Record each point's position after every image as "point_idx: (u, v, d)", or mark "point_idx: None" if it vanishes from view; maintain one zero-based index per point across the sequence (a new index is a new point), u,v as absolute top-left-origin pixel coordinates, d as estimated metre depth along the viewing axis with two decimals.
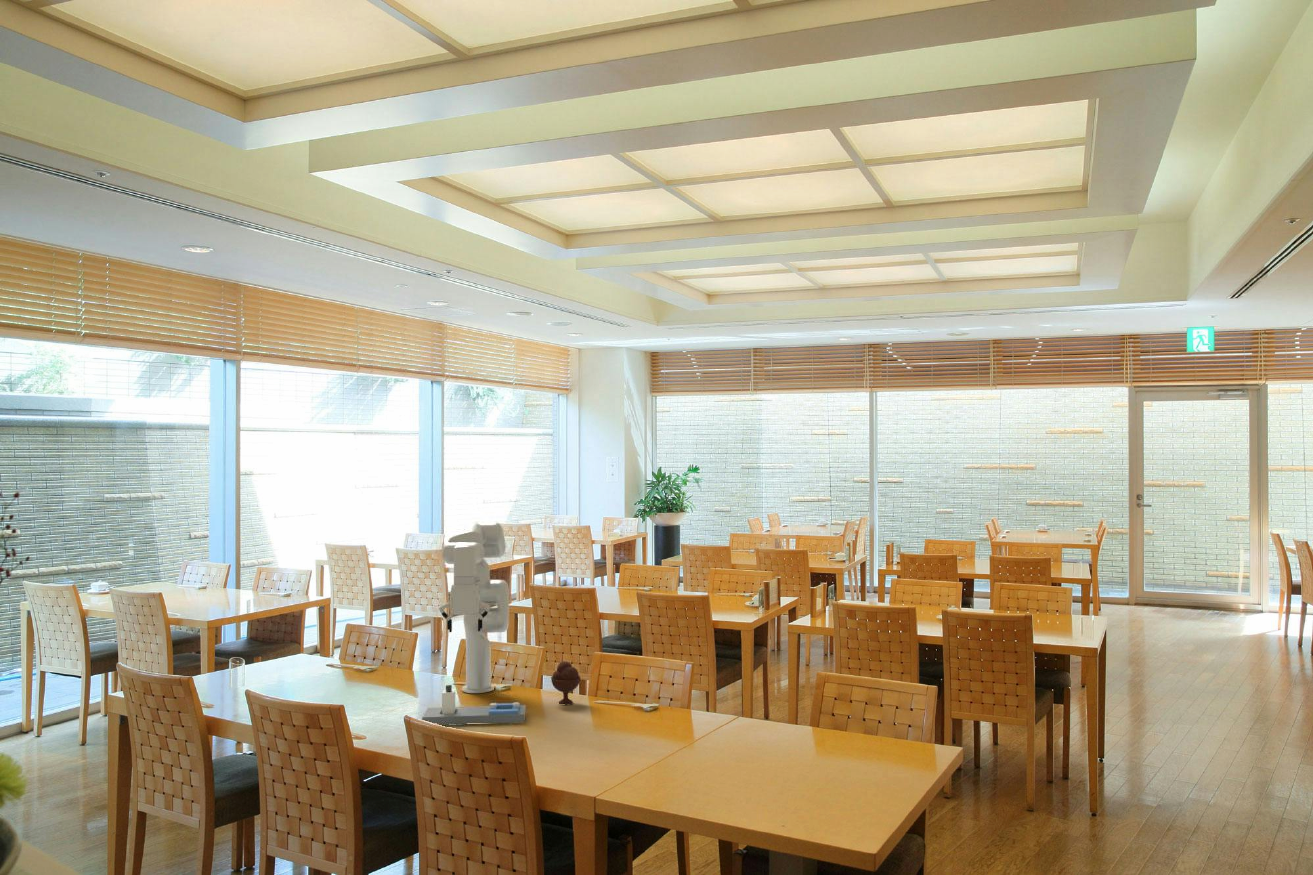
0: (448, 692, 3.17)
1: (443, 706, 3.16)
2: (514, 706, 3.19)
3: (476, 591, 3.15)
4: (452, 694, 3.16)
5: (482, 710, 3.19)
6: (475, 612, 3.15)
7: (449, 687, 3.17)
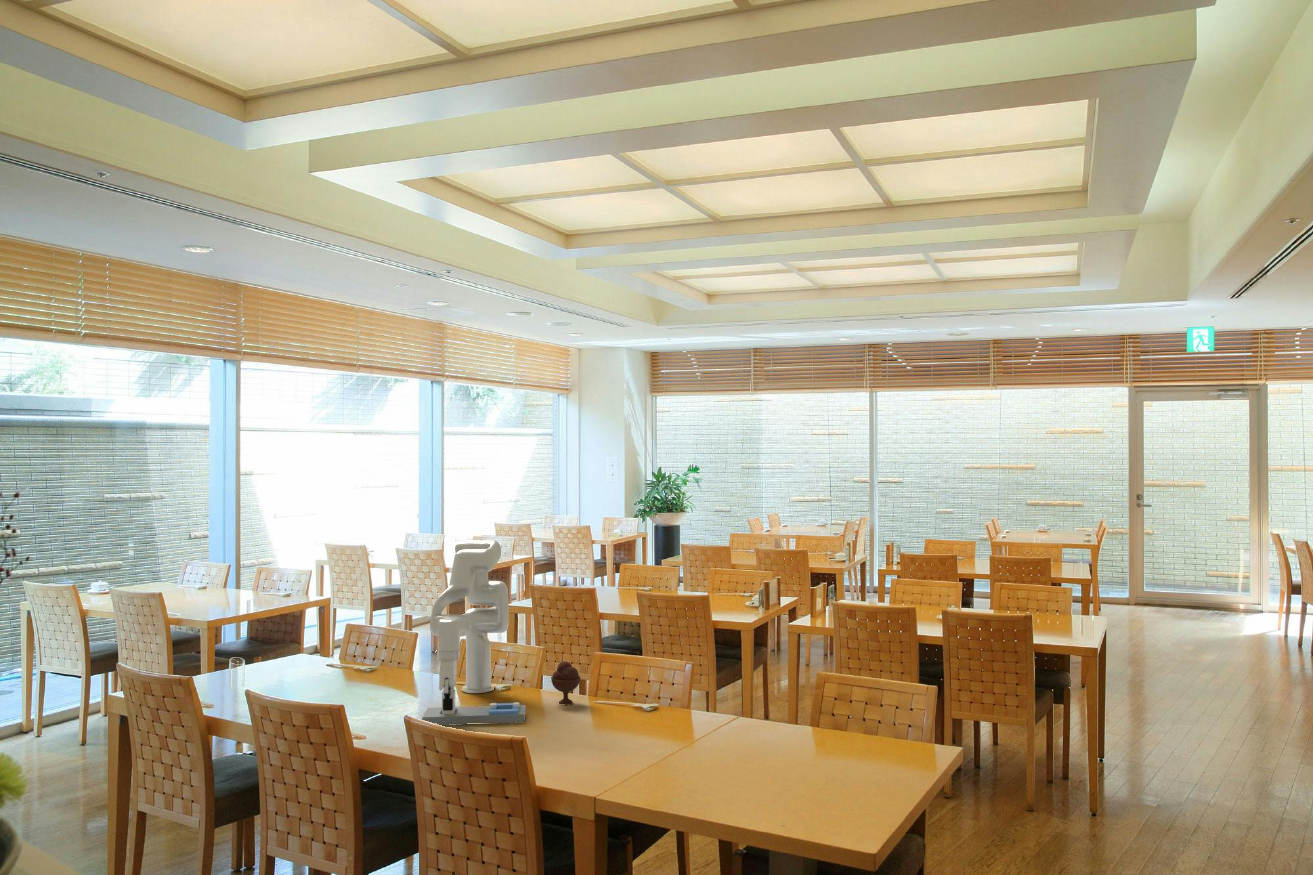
0: None
1: None
2: (514, 706, 3.19)
3: None
4: (452, 694, 3.16)
5: (482, 710, 3.19)
6: None
7: None
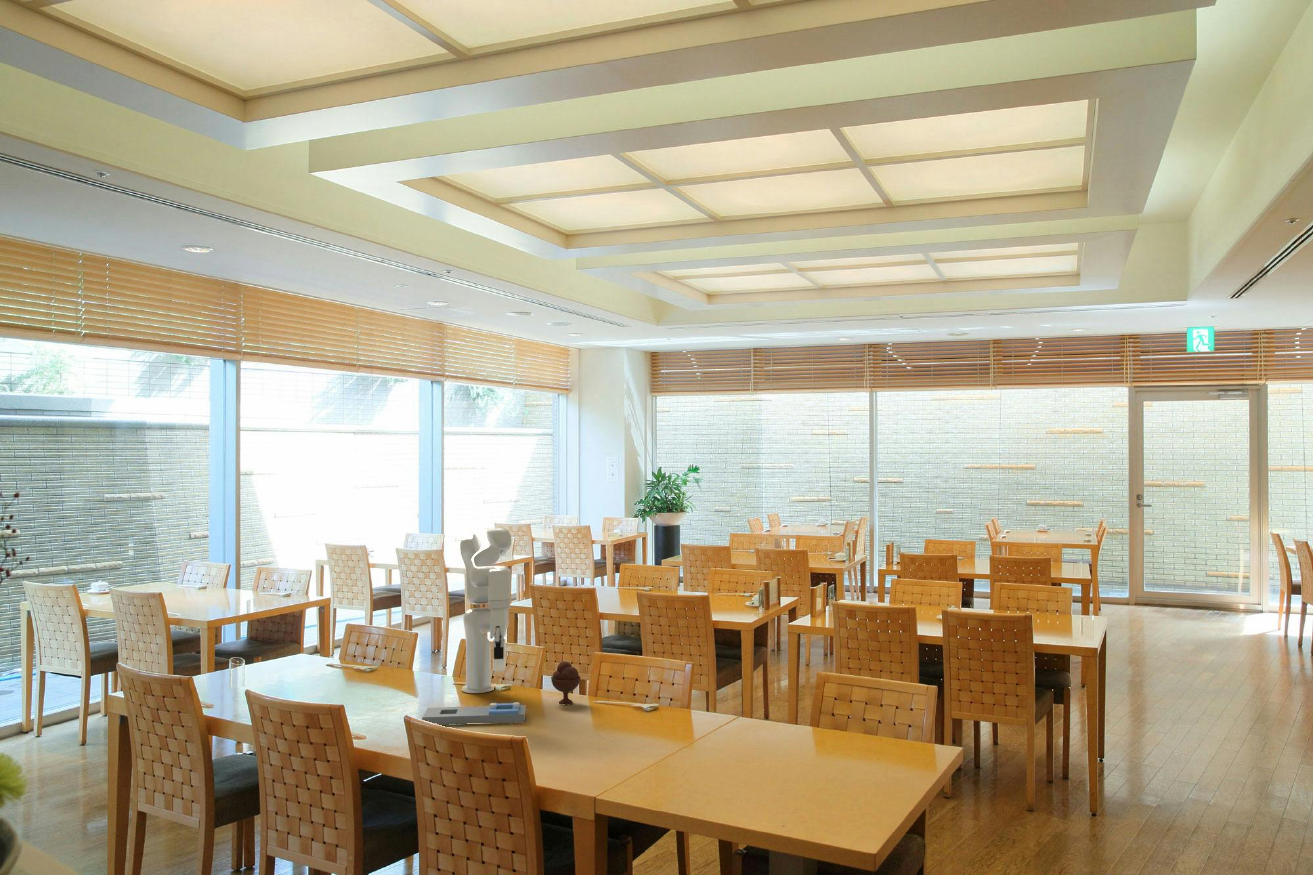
0: None
1: None
2: (514, 706, 3.19)
3: None
4: (503, 643, 3.18)
5: (482, 710, 3.19)
6: None
7: None
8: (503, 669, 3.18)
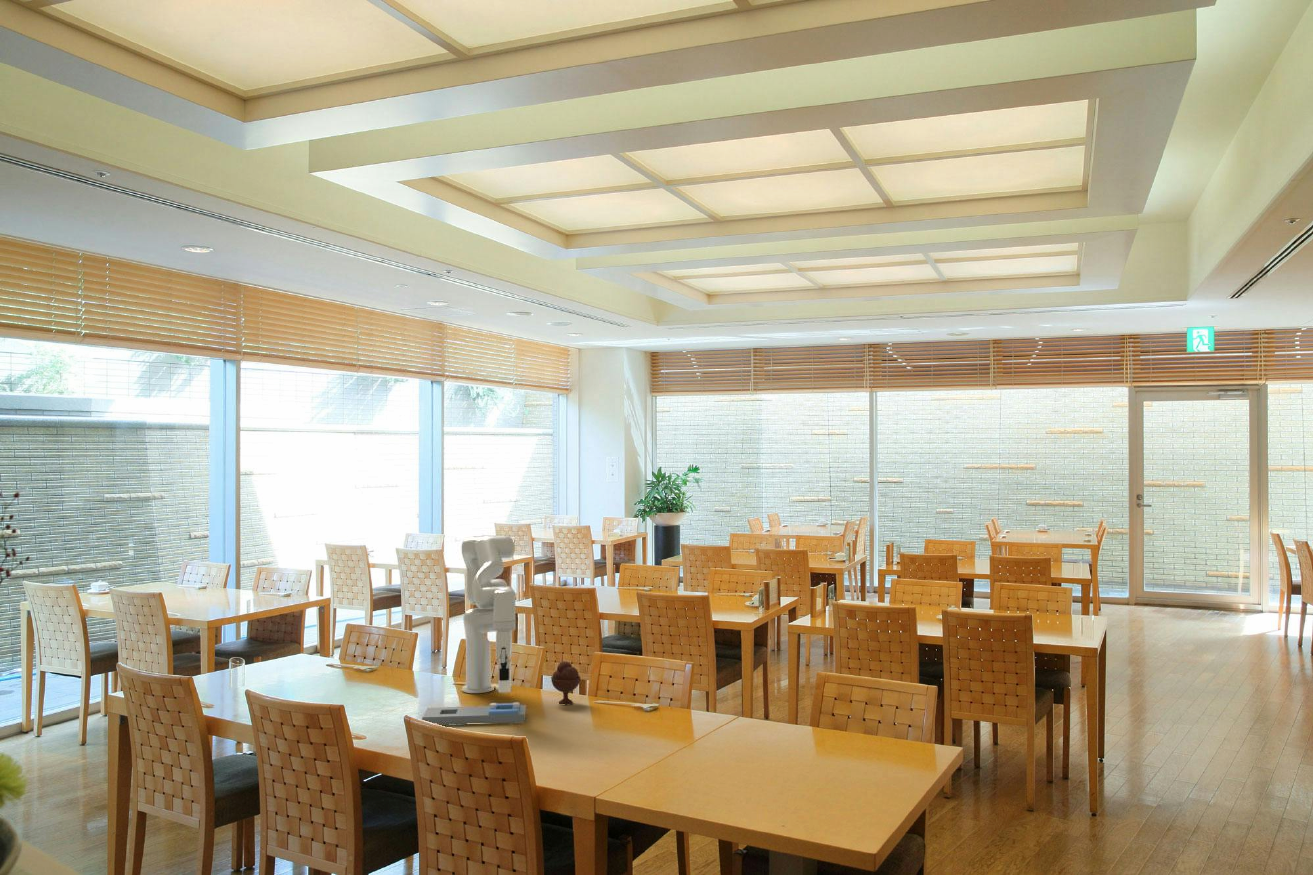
0: None
1: None
2: (514, 706, 3.19)
3: None
4: (508, 664, 3.18)
5: (482, 710, 3.19)
6: None
7: None
8: (509, 690, 3.18)
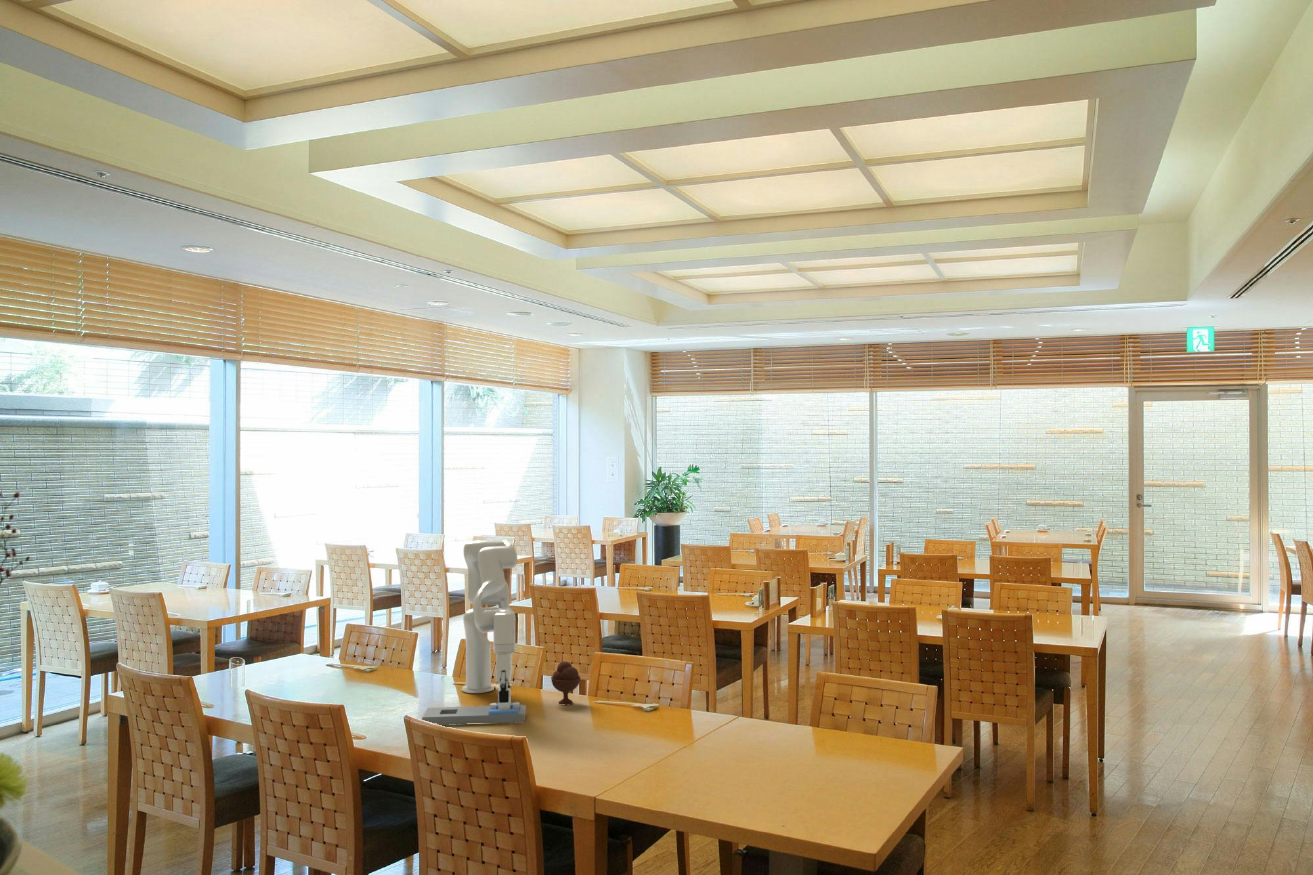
0: None
1: (499, 704, 3.18)
2: (514, 706, 3.19)
3: None
4: None
5: (482, 710, 3.19)
6: None
7: None
8: None
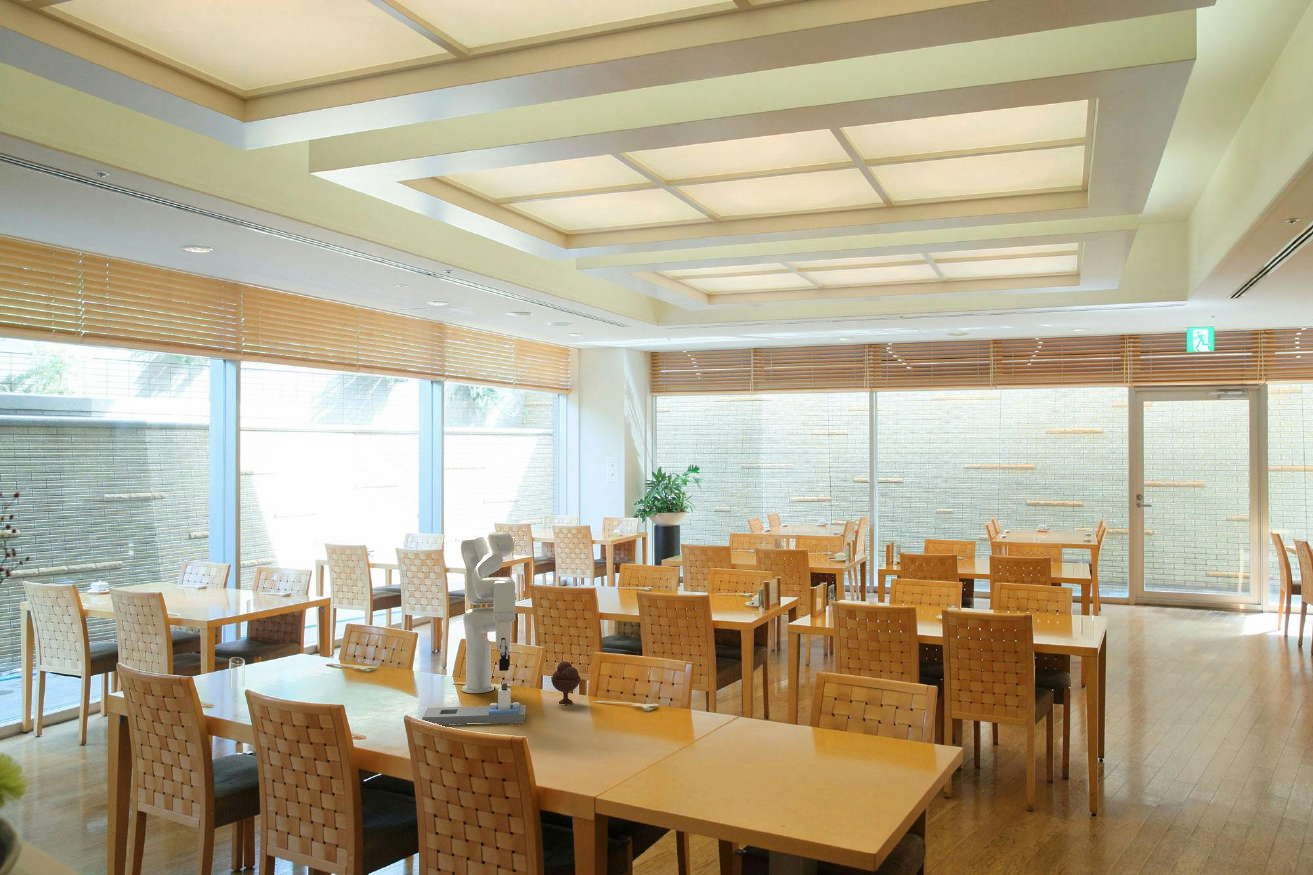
0: (504, 690, 3.19)
1: (499, 704, 3.18)
2: (514, 706, 3.19)
3: None
4: (508, 692, 3.18)
5: (482, 710, 3.19)
6: None
7: (505, 685, 3.19)
8: None
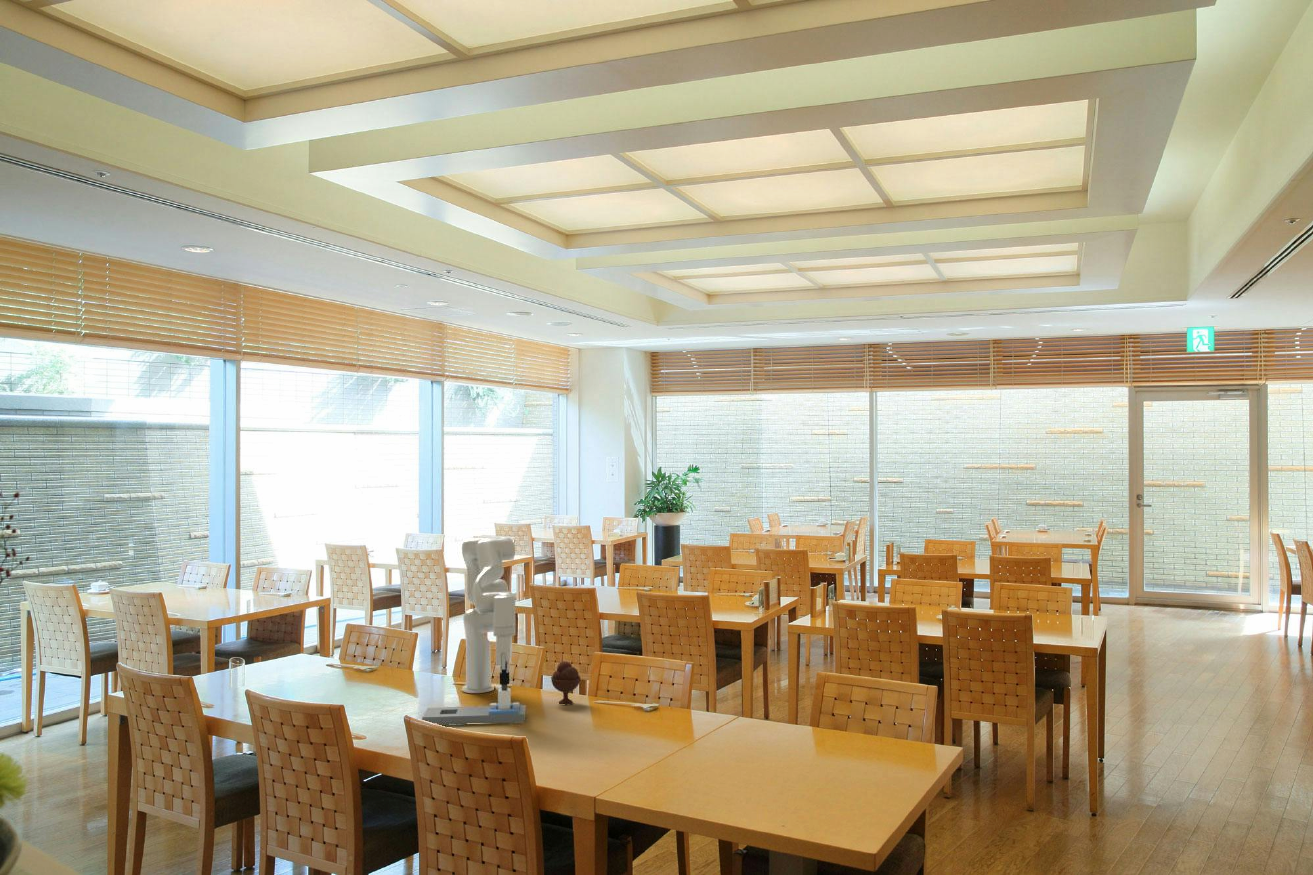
0: (504, 690, 3.19)
1: (499, 704, 3.18)
2: (514, 706, 3.19)
3: None
4: (508, 692, 3.18)
5: (482, 710, 3.19)
6: None
7: (505, 685, 3.19)
8: None
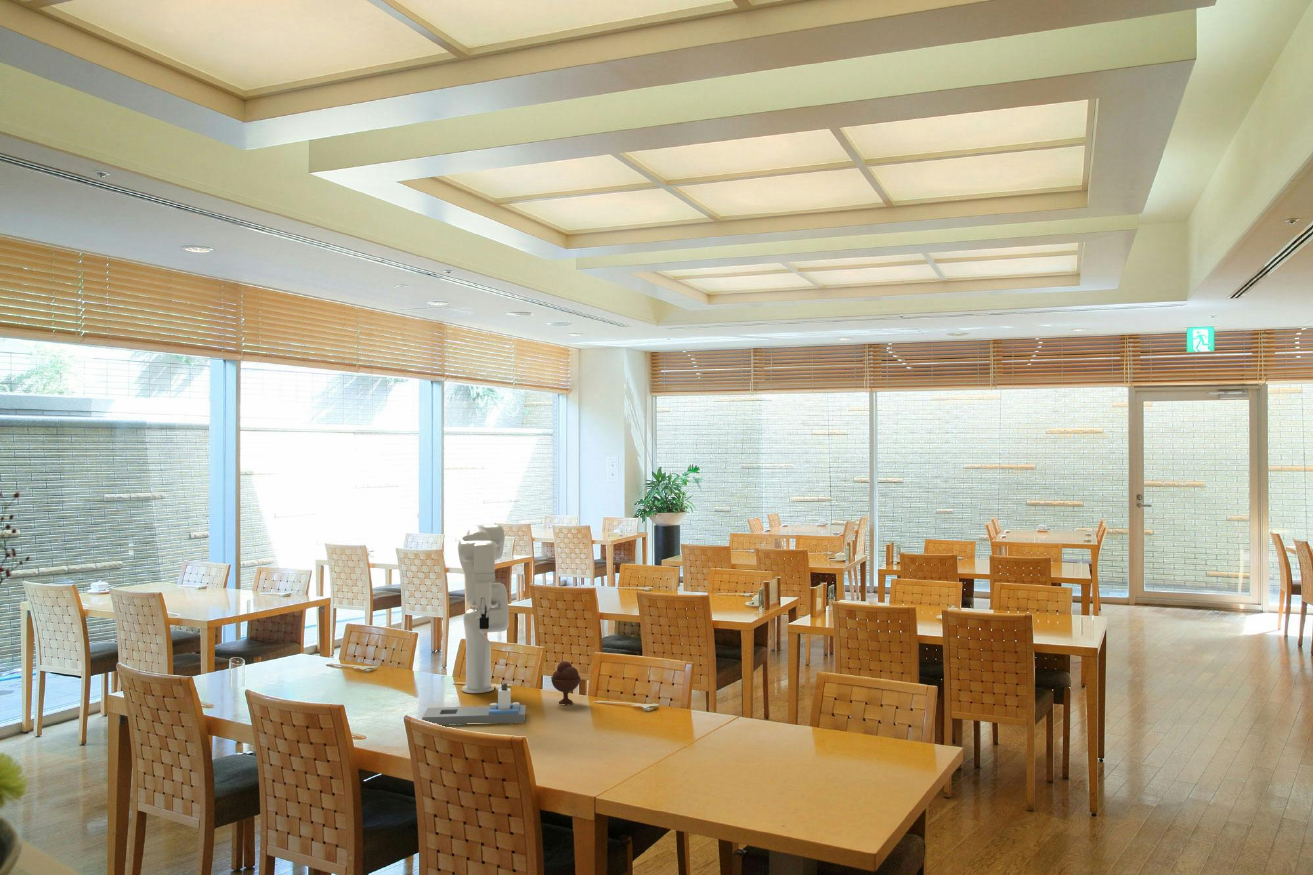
0: (504, 690, 3.19)
1: (499, 704, 3.18)
2: (514, 706, 3.19)
3: None
4: (508, 692, 3.18)
5: (482, 710, 3.19)
6: None
7: (505, 685, 3.19)
8: None
